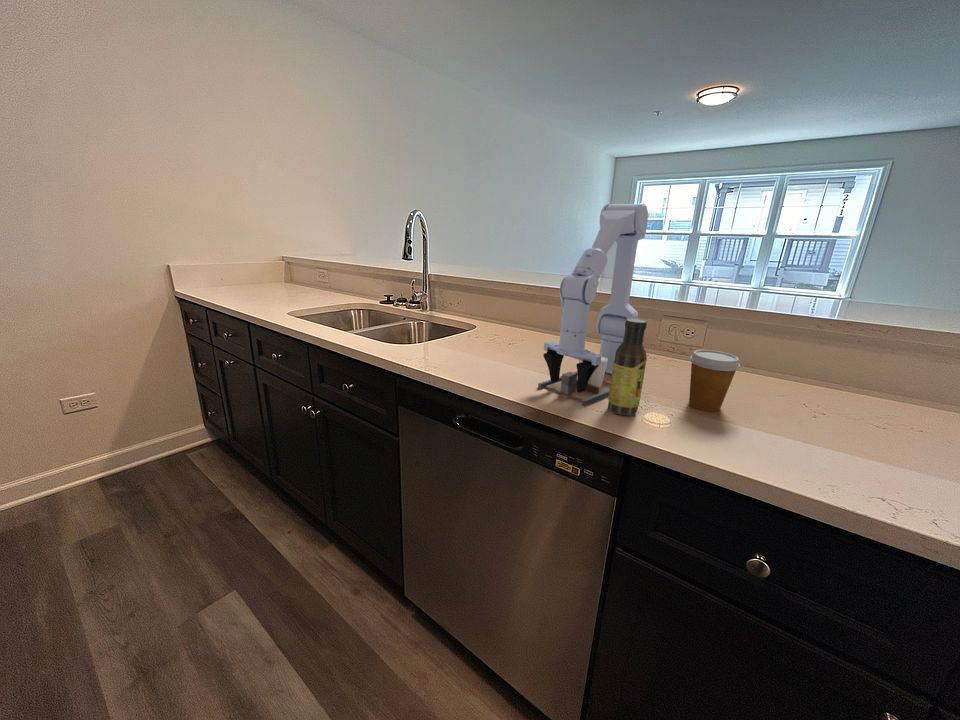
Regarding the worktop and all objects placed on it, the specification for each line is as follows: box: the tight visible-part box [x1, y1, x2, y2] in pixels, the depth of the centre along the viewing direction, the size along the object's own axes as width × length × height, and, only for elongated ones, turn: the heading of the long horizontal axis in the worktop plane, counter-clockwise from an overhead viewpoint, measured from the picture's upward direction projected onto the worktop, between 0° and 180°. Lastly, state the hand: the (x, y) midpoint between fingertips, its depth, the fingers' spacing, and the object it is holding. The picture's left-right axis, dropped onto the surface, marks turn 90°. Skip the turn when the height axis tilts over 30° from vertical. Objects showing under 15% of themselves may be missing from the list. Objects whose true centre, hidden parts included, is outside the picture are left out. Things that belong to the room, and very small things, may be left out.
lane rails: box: [537, 370, 610, 407], centre depth 97 cm, size 18×13×1 cm
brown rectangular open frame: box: [545, 371, 611, 403], centre depth 97 cm, size 15×11×5 cm
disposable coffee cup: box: [688, 349, 741, 412], centre depth 88 cm, size 10×10×12 cm
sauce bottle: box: [607, 318, 648, 416], centre depth 83 cm, size 6×6×20 cm
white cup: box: [578, 353, 608, 387], centre depth 98 cm, size 7×7×7 cm
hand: (567, 386), depth 93 cm, fingers open, 7 cm apart
